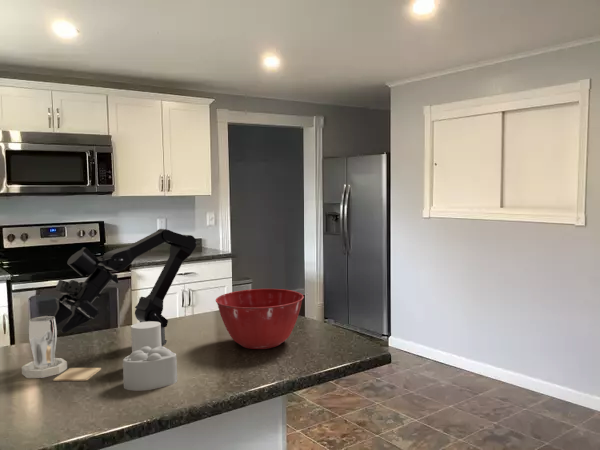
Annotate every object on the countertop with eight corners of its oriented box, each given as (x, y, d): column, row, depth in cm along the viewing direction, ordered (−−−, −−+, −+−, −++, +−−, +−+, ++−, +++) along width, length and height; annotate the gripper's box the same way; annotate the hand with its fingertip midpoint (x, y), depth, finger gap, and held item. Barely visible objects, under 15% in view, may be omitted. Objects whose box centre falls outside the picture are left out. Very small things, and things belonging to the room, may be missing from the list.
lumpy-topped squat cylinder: (180, 382, 133) (179, 350, 133) (130, 394, 126) (128, 360, 126) (166, 372, 142) (165, 341, 142) (118, 382, 135) (117, 350, 134)
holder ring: (72, 364, 149) (72, 358, 149) (53, 377, 139) (53, 370, 139) (37, 365, 150) (36, 358, 150) (15, 378, 139) (14, 370, 139)
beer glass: (63, 367, 148) (61, 315, 147) (49, 375, 141) (46, 321, 140) (40, 366, 148) (38, 315, 147) (25, 375, 141) (22, 321, 140)
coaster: (101, 369, 145) (101, 367, 145) (86, 380, 136) (86, 379, 136) (70, 369, 146) (70, 367, 146) (53, 380, 137) (53, 379, 137)
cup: (167, 362, 150) (166, 322, 149) (151, 372, 142) (149, 329, 141) (144, 360, 152) (142, 320, 152) (126, 369, 145) (124, 327, 144)
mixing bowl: (286, 360, 150) (285, 308, 149) (200, 352, 159) (199, 303, 158) (315, 334, 176) (314, 290, 176) (239, 329, 186) (238, 287, 185)
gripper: (61, 266, 156) (23, 308, 149) (86, 272, 143) (45, 318, 135) (88, 288, 162) (53, 329, 155) (114, 296, 148) (77, 341, 141)
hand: (56, 329), depth 146 cm, fingers open, 9 cm apart
